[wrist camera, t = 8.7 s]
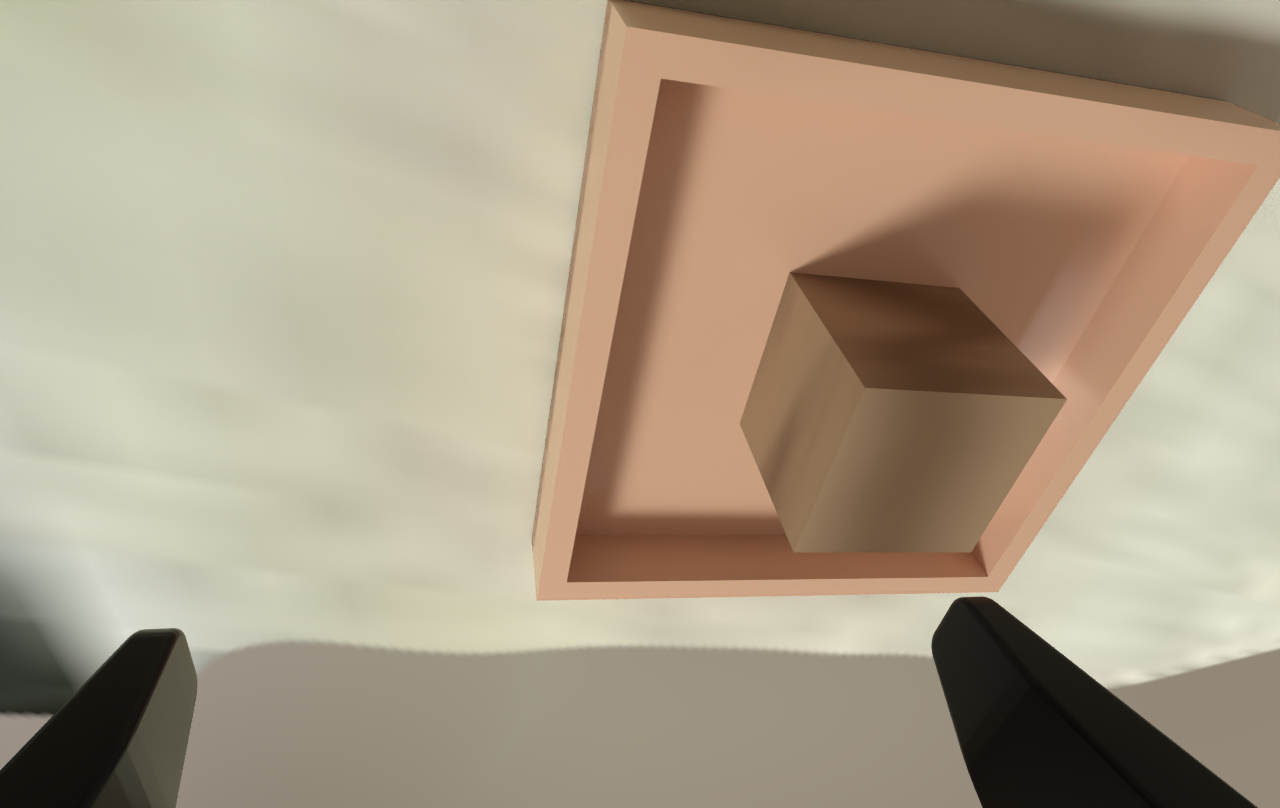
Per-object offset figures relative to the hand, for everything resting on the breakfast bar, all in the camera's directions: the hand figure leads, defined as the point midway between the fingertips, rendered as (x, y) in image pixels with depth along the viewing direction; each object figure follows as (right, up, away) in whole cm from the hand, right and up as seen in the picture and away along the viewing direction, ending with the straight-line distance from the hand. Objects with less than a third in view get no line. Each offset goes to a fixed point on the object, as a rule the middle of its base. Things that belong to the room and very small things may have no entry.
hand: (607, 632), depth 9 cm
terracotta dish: (+6, +4, +13) cm, 15 cm away
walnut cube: (+6, +4, +13) cm, 15 cm away
